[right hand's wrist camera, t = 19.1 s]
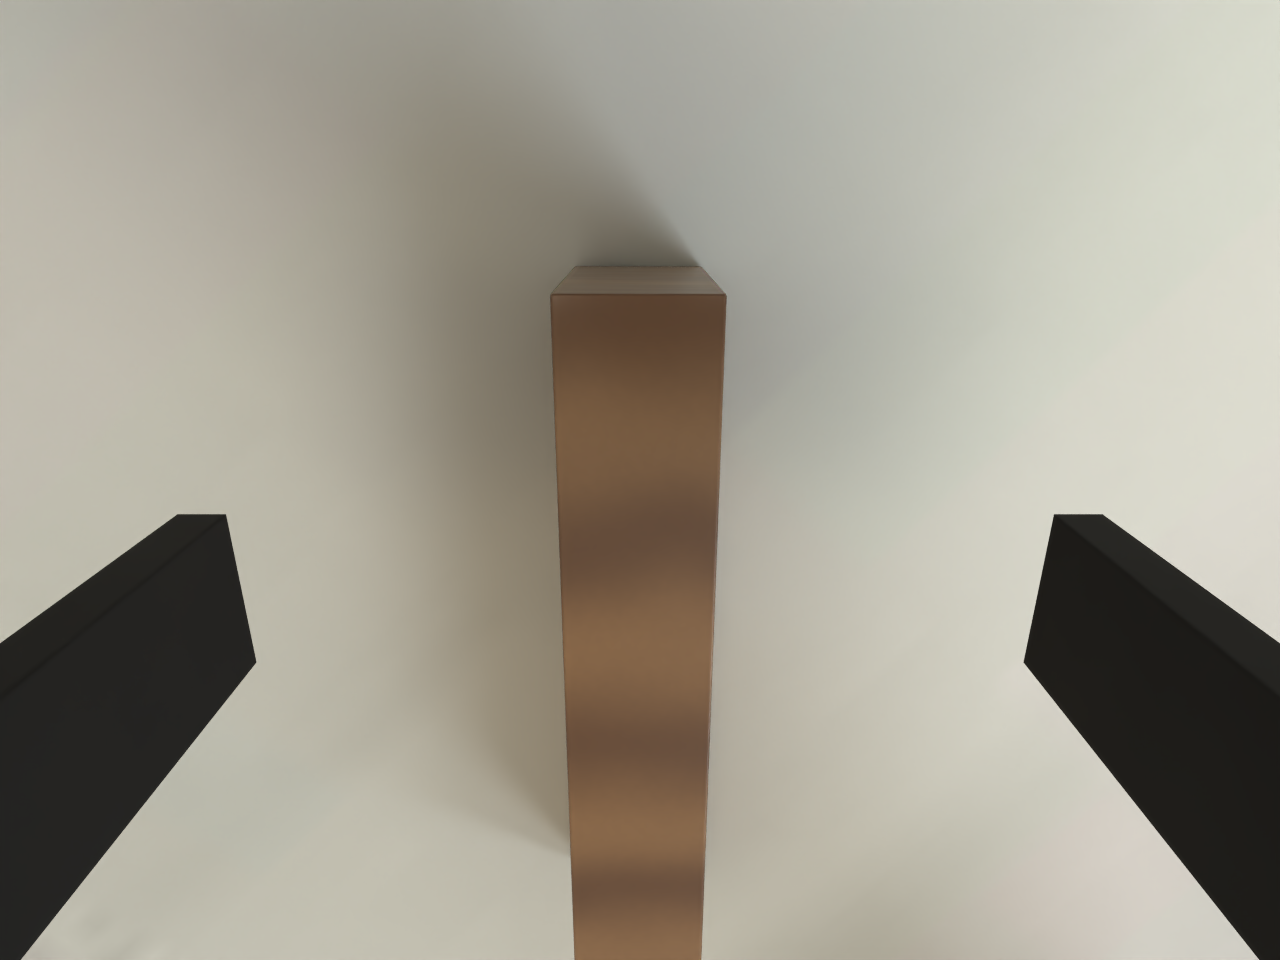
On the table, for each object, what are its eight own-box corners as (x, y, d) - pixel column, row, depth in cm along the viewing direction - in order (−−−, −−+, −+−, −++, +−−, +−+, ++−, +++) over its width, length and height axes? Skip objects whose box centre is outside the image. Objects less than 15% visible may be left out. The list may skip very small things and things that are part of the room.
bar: (574, 266, 28) (549, 293, 20) (701, 266, 28) (726, 293, 20) (590, 864, 37) (577, 1041, 29) (685, 864, 37) (697, 1040, 29)
